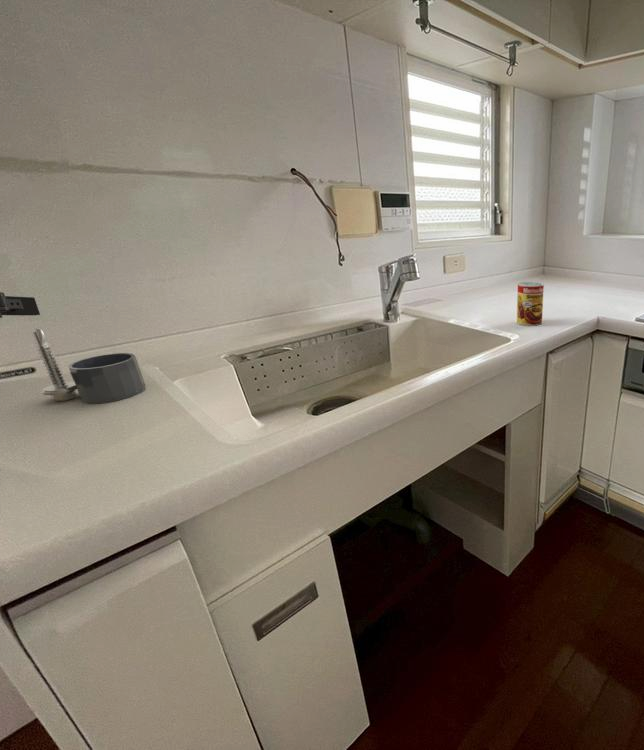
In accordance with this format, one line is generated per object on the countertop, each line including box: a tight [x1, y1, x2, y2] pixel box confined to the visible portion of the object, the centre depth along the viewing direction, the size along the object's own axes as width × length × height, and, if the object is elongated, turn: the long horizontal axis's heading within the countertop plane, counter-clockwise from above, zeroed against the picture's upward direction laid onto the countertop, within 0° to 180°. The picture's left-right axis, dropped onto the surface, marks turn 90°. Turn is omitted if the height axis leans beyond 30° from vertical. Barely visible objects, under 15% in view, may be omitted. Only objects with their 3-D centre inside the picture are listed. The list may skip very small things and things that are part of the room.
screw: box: [31, 328, 77, 402], centre depth 70 cm, size 13×5×5 cm
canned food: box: [516, 281, 545, 327], centre depth 124 cm, size 8×8×12 cm
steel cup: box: [67, 352, 147, 405], centre depth 73 cm, size 9×9×6 cm
